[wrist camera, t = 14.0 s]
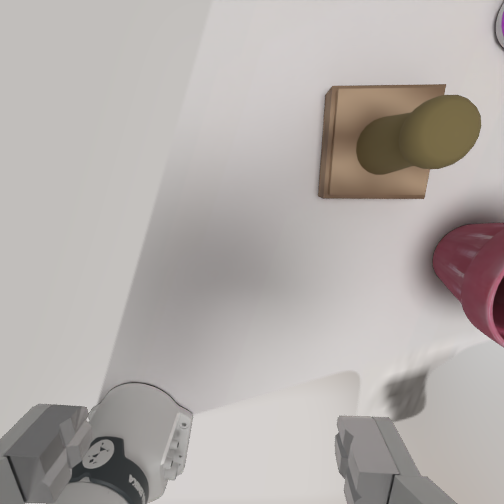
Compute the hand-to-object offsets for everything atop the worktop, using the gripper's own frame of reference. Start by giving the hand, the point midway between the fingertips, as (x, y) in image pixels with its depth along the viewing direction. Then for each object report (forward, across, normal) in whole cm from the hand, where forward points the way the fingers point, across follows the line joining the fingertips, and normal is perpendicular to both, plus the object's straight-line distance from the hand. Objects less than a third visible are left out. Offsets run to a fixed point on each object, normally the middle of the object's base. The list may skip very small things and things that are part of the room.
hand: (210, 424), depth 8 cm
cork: (+25, +15, +11) cm, 31 cm away
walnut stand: (+29, +15, +11) cm, 34 cm away
